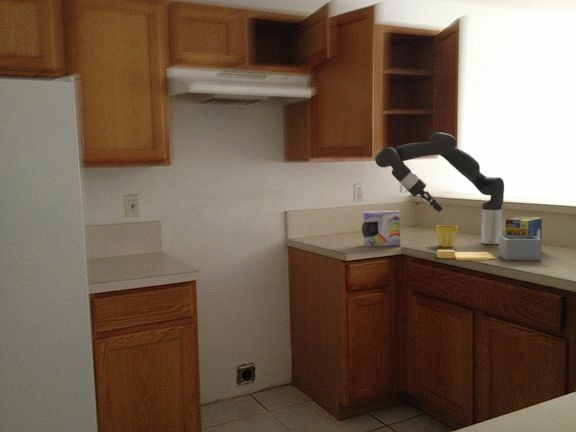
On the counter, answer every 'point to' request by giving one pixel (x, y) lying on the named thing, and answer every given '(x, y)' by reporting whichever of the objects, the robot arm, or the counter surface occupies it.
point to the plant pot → (446, 235)
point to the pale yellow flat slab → (464, 255)
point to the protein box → (524, 226)
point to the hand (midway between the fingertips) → (439, 209)
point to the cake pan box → (381, 228)
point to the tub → (520, 247)
